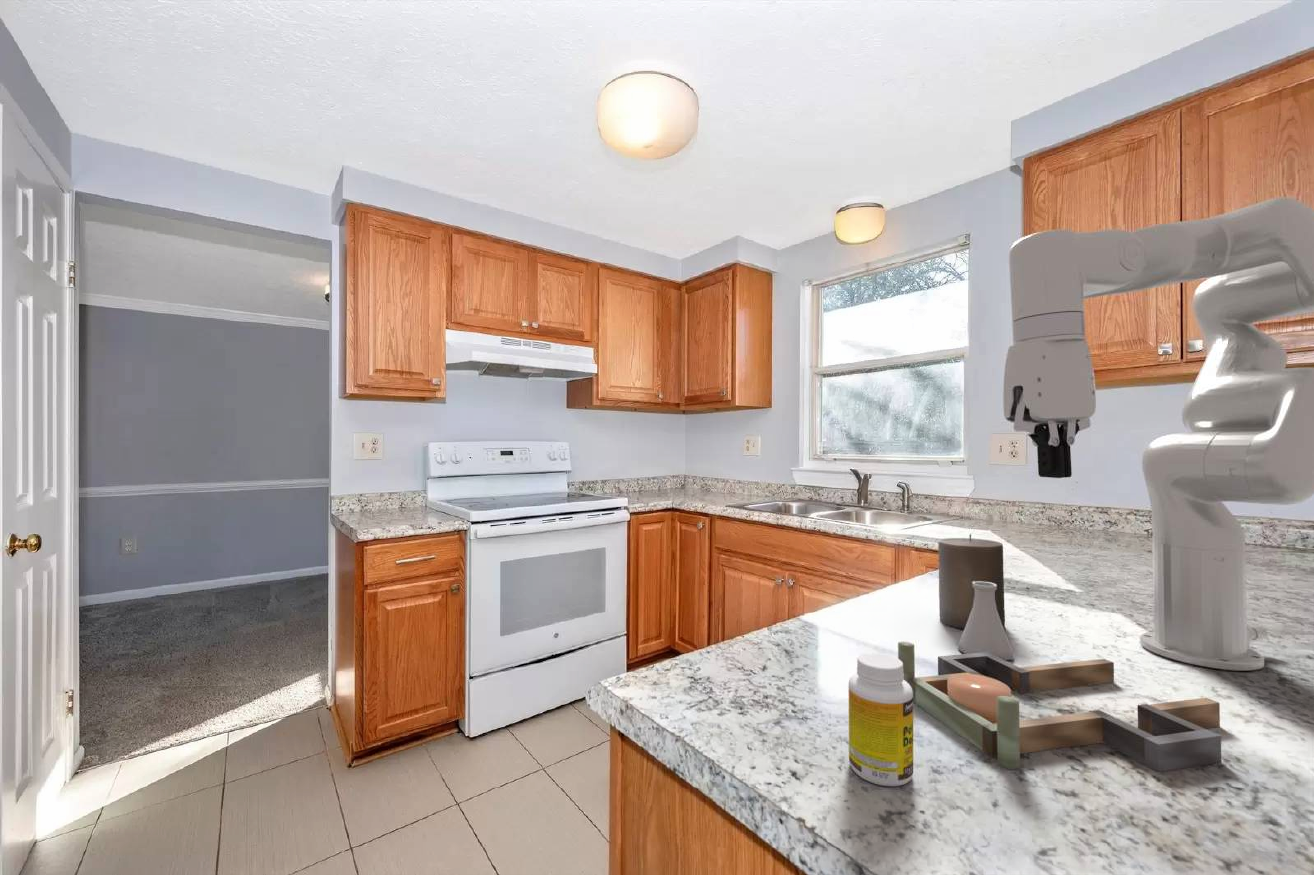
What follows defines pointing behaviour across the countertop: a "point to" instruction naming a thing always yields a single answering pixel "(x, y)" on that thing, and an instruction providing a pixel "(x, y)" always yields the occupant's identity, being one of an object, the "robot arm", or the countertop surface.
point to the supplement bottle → (881, 721)
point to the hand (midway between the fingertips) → (1054, 476)
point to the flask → (985, 625)
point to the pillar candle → (968, 576)
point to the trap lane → (1158, 741)
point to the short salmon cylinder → (977, 693)
